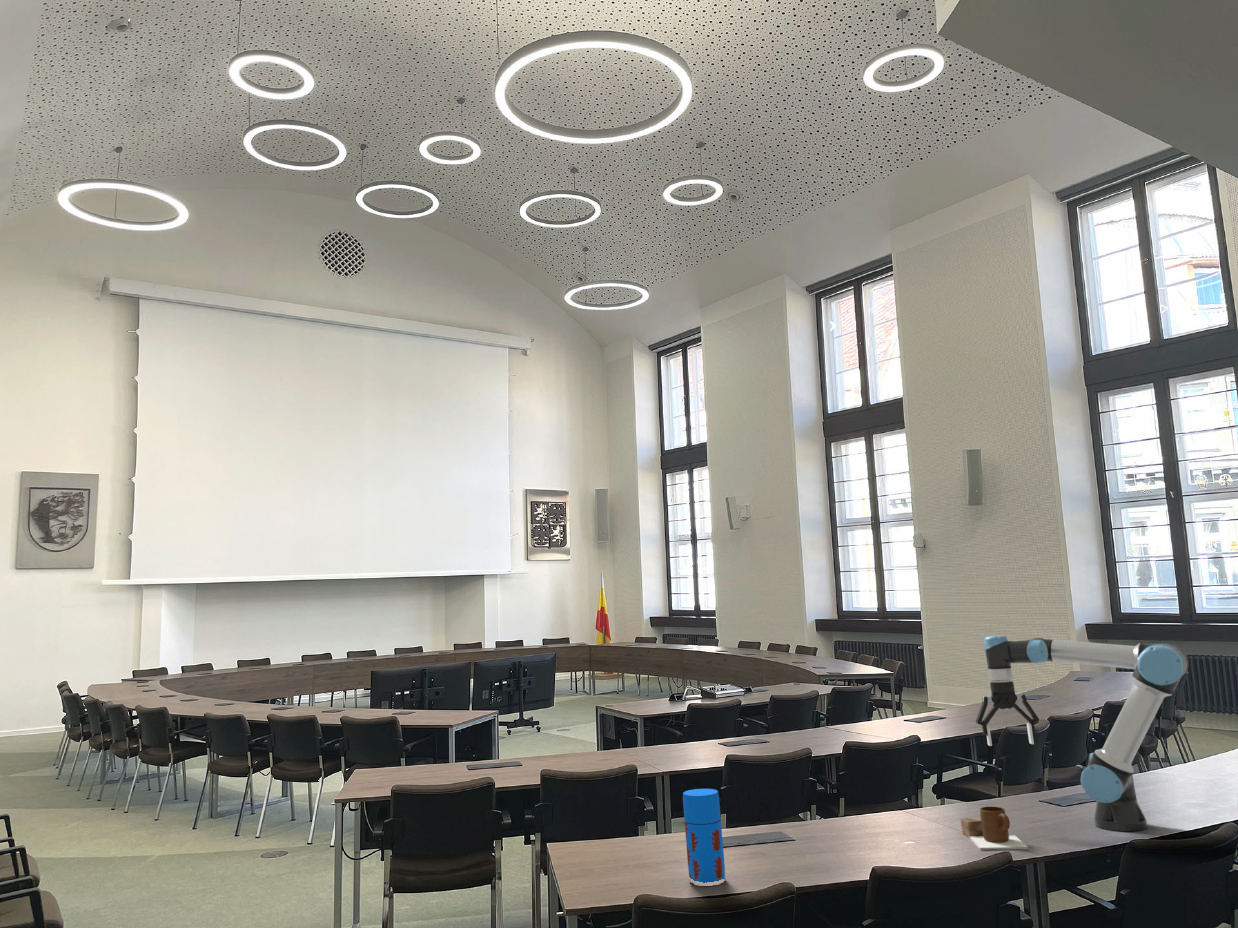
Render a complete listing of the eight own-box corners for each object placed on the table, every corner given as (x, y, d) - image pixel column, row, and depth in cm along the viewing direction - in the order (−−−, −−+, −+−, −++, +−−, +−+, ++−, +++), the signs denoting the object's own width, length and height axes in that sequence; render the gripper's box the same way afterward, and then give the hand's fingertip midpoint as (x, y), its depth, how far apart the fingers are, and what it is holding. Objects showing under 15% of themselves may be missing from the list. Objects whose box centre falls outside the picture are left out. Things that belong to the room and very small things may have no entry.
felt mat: (1015, 837, 271) (1015, 835, 271) (1028, 849, 258) (1028, 846, 258) (970, 838, 273) (969, 836, 274) (980, 850, 260) (980, 847, 260)
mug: (1023, 844, 260) (1018, 812, 262) (1000, 847, 259) (996, 815, 261) (1000, 835, 272) (996, 805, 274) (978, 838, 271) (974, 807, 273)
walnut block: (977, 833, 280) (974, 817, 281) (984, 836, 275) (982, 820, 276) (962, 834, 279) (960, 818, 280) (970, 838, 274) (967, 821, 275)
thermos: (723, 874, 253) (715, 787, 258) (728, 885, 243) (721, 794, 247) (687, 877, 253) (680, 790, 257) (691, 888, 242) (684, 797, 247)
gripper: (1036, 678, 294) (1045, 741, 290) (961, 682, 298) (970, 744, 294) (1042, 679, 286) (1053, 744, 282) (966, 683, 290) (975, 747, 286)
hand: (1010, 744), depth 288 cm, fingers open, 13 cm apart
